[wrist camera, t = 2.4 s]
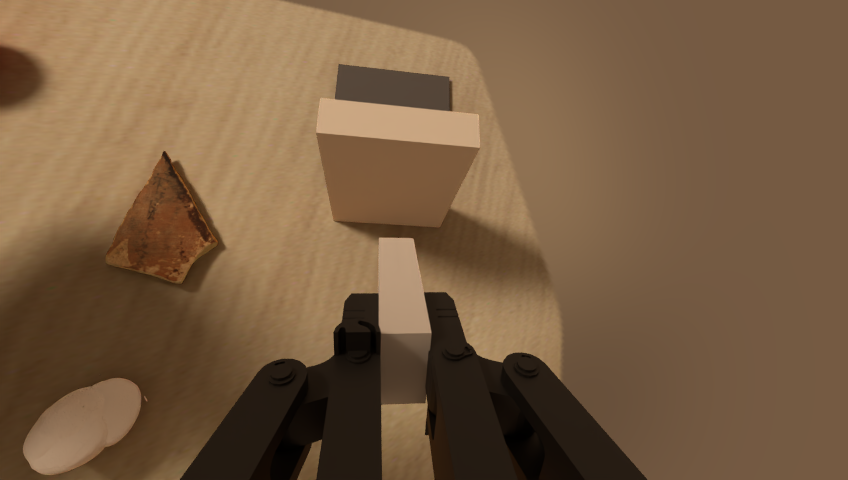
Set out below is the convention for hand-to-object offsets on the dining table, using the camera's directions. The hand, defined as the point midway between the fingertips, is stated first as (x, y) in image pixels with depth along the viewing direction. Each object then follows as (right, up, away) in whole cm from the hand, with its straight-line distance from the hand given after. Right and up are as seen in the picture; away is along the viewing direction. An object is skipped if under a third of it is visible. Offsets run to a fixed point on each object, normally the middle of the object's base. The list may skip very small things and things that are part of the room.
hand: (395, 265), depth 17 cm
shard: (-22, +2, +17) cm, 28 cm away
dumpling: (-22, -12, +12) cm, 28 cm away
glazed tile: (-2, +4, +20) cm, 20 cm away
